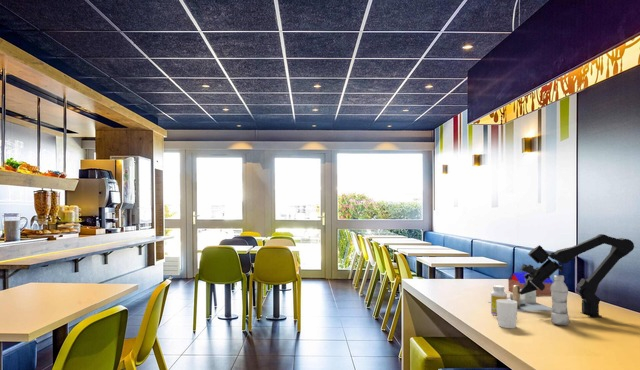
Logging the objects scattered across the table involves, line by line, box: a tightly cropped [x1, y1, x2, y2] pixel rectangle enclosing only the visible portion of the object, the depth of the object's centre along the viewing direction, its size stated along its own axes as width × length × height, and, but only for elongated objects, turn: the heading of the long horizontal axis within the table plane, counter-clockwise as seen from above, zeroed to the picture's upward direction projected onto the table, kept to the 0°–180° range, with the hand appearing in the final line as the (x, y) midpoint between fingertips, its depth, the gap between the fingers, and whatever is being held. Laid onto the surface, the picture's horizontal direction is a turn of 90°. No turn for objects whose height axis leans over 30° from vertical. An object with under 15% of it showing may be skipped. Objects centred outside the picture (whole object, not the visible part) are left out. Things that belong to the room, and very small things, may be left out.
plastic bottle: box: [550, 274, 570, 326], centre depth 176 cm, size 6×7×20 cm
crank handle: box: [507, 285, 525, 308], centre depth 207 cm, size 15×9×10 cm, turn 159°
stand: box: [488, 289, 552, 313], centre depth 205 cm, size 20×24×7 cm
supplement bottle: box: [490, 284, 508, 317], centre depth 191 cm, size 7×7×13 cm
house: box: [507, 271, 554, 296], centre depth 243 cm, size 12×20×12 cm, turn 98°
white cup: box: [496, 299, 518, 329], centre depth 174 cm, size 8×8×10 cm
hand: (520, 293), depth 200 cm, fingers closed, pressing on crank handle
